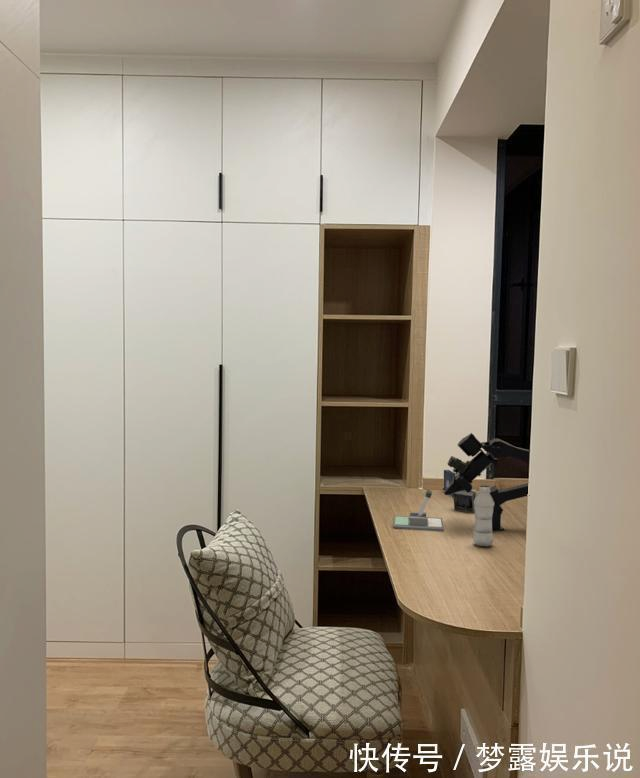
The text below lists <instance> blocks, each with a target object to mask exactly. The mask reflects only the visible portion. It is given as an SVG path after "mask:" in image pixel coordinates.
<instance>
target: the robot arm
mask: <svg viewBox="0 0 640 778" xmlns="http://www.w3.org/2000/svg"><path fill="white" fill-rule="evenodd" d="M457 446H458V447H459V449H460V450H461V451H462V452H463V453H464V454H465V455H466V456H467V457H472V458H471V460H466V462H465V461H463V460H462V459H459V458H458V457H455V456H452V455H451V456H450V458H449V459H448V461H447V466H449V467H450V468H453V469H452V472H454V473H456V475H454V474H453V480H452V482H451V484H450V485H449V486H448V488H447V489H446V491H445V492H443V493H444V495H445V496H450V495H449V494H452V493H456V492H459V491H462V490H466V491H467V492H468V493H469V492H470V491H471V490H473V485H472V484H473V481H475V479H477V477H480V476H481V475H482V473H483V472H484V471H485V470H486V469H487V468H489V466H491V465H493V466H494V467H496V468H497V467H498V461H499V460H498V458H504V459H505V458H514V459H518V460H521V461H526V462H529V449H526V448H522V447H517V446H514V444H510V443H509V442H507V441H504V440H502V439H501V438H493V439H491V440H489V441H482V442H480V440H478V438H476V436H475V435H474V434H473V433H472V432H470V433H469V434H467V435H466V436H464V437H463V438H461V440H460V441H459V442H458V443H457ZM483 450H484V451H483ZM494 457H495V458H494ZM496 457H497V458H496ZM528 483H529V482H528ZM528 483H523V484H519V485H516V486H511V487H508V488H507V487H506V488H503V489H499V488H498V487H497V486H496V485H492V486H490V487H491V488H490V490H491V492H490V495H491V496H492V498H493V500H494V508H493V514H492V532H493V531H504V530H505V528H504V527H502V526H501V523H502V522H501V521H502V514H503V512H504V509H503V508H502V505H503V504H505V503H507V502H509V501H513V500H516V499H521V498H525V497H528V496H527V494H528Z"/></svg>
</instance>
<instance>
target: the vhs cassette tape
mask: <svg viewBox="0 0 640 778" xmlns="http://www.w3.org/2000/svg"><path fill="white" fill-rule="evenodd" d="M453 474H454V475H456V473H455V472H453V470H452V471H451V469H450V470H449V469H444V470H443V476H444V477H443V478H444V488H443V487H442V491H443V490H444V491H446V489H447V488H448V486H449V485H450V484H451V482H452V480H453ZM443 478H442V479H443ZM450 495H451V496H452V498H453V493H452V494H449V495H448V496H450ZM451 496H450V497H451Z"/></svg>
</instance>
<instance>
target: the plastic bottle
mask: <svg viewBox="0 0 640 778" xmlns="http://www.w3.org/2000/svg"><path fill="white" fill-rule="evenodd" d="M491 487H492V486H490V485H486V484H482V485H481V484H480V485H478V491H477V492H478V493H477V496H476V498H475V499H474V508H475V511H474V517H475V520H474V530H473V534H472V540H473V541H472V542H473V543H474V544H475V545H476V546H479V547H491V546H492V544H493V543H494V532H493V531H492V514H493V508H494V500H493V498H492V496H491V495H490V492H491V490H490V488H491Z"/></svg>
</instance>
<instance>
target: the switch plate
mask: <svg viewBox="0 0 640 778" xmlns="http://www.w3.org/2000/svg"><path fill="white" fill-rule="evenodd" d="M418 512H419V511H416V510H415V511H413V510H412V511H411V510H410V511H409V515H394V516H393V524H392V529H393V528H397V529H396V530H411V529H413V531H414V530H416V531H431V532H445V528H444V521H443V517H433V516H432V517H429V516H427V511H424V512H423V514H422V517H417V515H418Z"/></svg>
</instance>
